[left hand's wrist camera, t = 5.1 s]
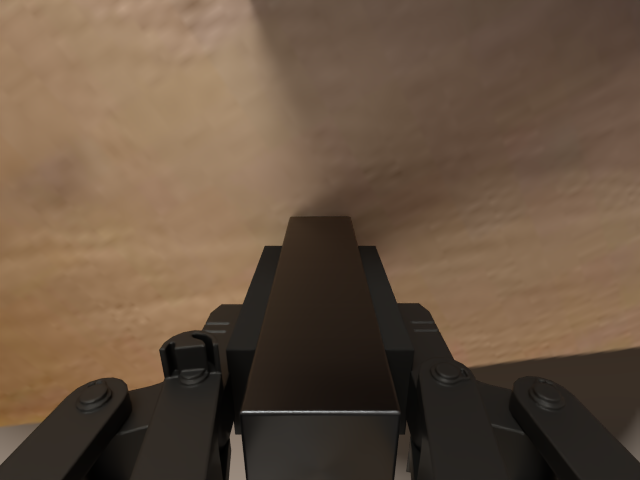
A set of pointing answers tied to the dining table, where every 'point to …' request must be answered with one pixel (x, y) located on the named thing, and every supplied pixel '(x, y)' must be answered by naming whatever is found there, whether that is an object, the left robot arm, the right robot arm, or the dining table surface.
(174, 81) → the dining table surface
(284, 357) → the peg
